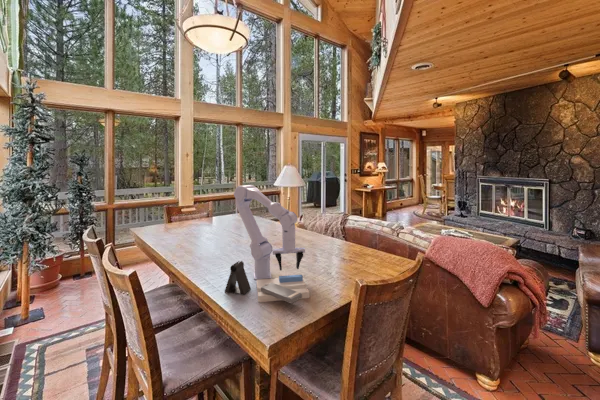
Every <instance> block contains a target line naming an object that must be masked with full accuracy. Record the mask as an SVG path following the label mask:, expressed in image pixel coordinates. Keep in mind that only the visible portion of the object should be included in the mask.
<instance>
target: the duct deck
mask: <svg viewBox="0 0 600 400" xmlns="http://www.w3.org/2000/svg"><path fill="white" fill-rule="evenodd" d="M269 283H274V284H277V285H280V286H283V287H285V288H288V289H291V290H294V291H296V292H299V293H302V298H300V299H299V300H301V299H310V290H309V289H308V288H307V287H306V286H307V285H306V283H305V280H304V279H303V281H297V282H283V283H280V282H279V277H278V278H277V277H276V278H270V279H256V288H257V289H256V291H257V302H258V303H265V302H266V303H267V302H277V301H283V300H282V299H279V298H277V297H274V296H272V295H269V294H267V293H264V292H262V291H261V287H263V286H265V284H269Z"/></svg>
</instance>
